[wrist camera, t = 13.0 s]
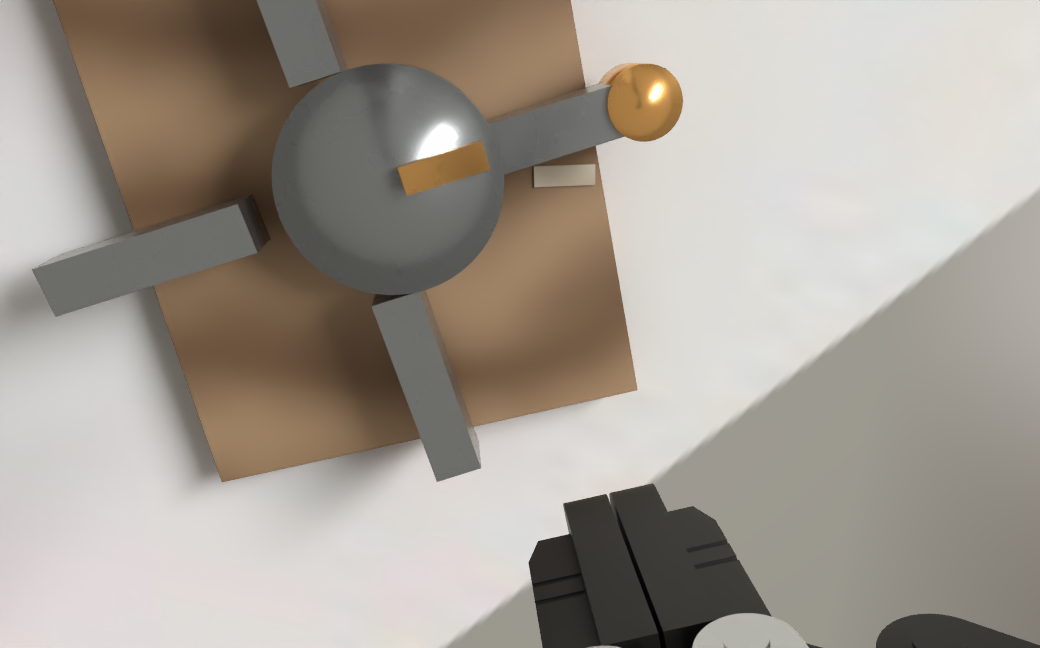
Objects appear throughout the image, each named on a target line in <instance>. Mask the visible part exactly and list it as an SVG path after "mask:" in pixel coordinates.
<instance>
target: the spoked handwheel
mask: <svg viewBox="0 0 1040 648" xmlns="http://www.w3.org/2000/svg"><path fill="white" fill-rule="evenodd" d="M257 3H258V5H259V8H260V11H261V13H262V16H263V19H264V21H265V24H266V27H267V29H268V32H269V35H270V37H271V40H272V43H273V45H274V48H275V51H276V53H277V56H278V59H279V61H280V64H281V67H282V69H283V72H284V75H285V77H286V80H287V83H288V85H289V88H293V87H297V86H302V85H305V84H308V83H311V82H314V81H318V80H321V79H324V78H327V77H330V76H332V77H330V78H328V79H326V80H325V81H323V82H321V83H320V84H318V85H317V86H316V87H315V88H313V89H312V90H311V91H309V92H308V93H307V94H306V95H305V96H304V97H303V98H302V99H301V100H300V101H299V102H298V104H297V105H296V106H295V108H294V109H293V110H292V112H291V113H290V115H289V116H288V118H287V120H286V122H285V123H284V125H283V127H282V129H281V132H280V134H279V137H278V140H277V142H276V146H275V151H274V155H273V162H272V190H273V196H274V201H275V205H276V209H277V212H278V215H279V218H280V220H281V222H282V224H283V227H284V229H285V231H286V233H287V234H288V236H289V237H290V239H291V241H292V242H293V244H294V245H295V247H296V248H297V249H298V250H299V251H300V253H301V254H302V255H303V256H304V257H305V258H306V259H307V260H308V261H309V262H310V263H311V264H312V265H313V266H314V267H315V268H317V269H318V270H320V271H321V272H322V273H324V274H325V275H326V276H328V277H330V278H332V279H333V280H335V281H337V282H339V283H341V284H343V285H345V286H348V287H350V288H353V289H356V290H360V291H364V292H367V293H373V294H375V296H374V299H373V303H372V306H371V307H372V309H373V312H374V315H375V317H376V320H377V323H378V325H379V328H380V331H381V333H382V336H383V339H384V341H385V344H386V347H387V349H388V352H389V355H390V357H391V360H392V363H393V365H394V368H395V371H396V373H397V376H398V379H399V381H400V384H401V387H402V389H403V392H404V395H405V397H406V400H407V403H408V405H409V408H410V411H411V413H412V416H413V419H414V421H415V424H416V427H417V429H418V432H419V435H420V437H421V440H422V443H423V445H424V448H425V451H426V453H427V456H428V459H429V461H430V464H431V467H432V469H433V472H434V475H435V477H436V480H437V482H438V481H441V480H445V479H448V478H451V477H454V476H457V475H461V474H464V473H467V472H470V471H473V470H476V469H480V468H481V461H480V450H479V441H478V438H477V435H476V432H475V430H474V427H473V424H472V421H471V418H470V415H469V413H468V410H467V407H466V404H465V401H464V398H463V395H462V393H461V390H460V387H459V384H458V381H457V378H456V375H455V373H454V370H453V367H452V364H451V361H450V358H449V356H448V353H447V350H446V347H445V344H444V341H443V338H442V336H441V333H440V330H439V327H438V324H437V321H436V319H435V316H434V313H433V310H432V307H431V304H430V301H429V299H428V296H427V293H426V290H427V289H430V288H433V287H435V286H438V285H440V284H442V283H444V282H446V281H448V280H449V279H451V278H453V277H454V276H456V275H457V274H458V273H460V272H461V271H463V270H464V269H465V268H466V267H467V266H468V265H469V264H470V263H471V262H472V261H474V260H475V258H476V257H477V256H478V255H479V253H480V252H481V251H482V250H483V249H484V247H485V245H486V244H487V242H488V241H489V239H490V237H491V236H492V233H493V231H494V229H495V227H496V224H497V222H498V218H499V215H500V212H501V208H502V202H503V196H504V174H508V173H511V172H514V171H517V170H520V169H523V168H527V167H530V166H533V165H536V164H539V163H542V162H546V161H549V160H552V159H555V158H558V157H561V156H564V155H568V154H571V153H574V152H577V151H580V150H583V149H587V148H590V147H593V146H596V145H599V144H602V143H606V142H609V141H612V140H615V139H618V138H621V137H624V136H625V137H627V138H630V139H632V140H635V141H652V140H656V139H658V138H660V137H662V136H664V135H665V134H667V133H668V132H669V131H670V130H671V129H672V128H673V127H674V126H675V124H676V122H677V121H678V119H679V117H680V114H681V110H682V104H683V97H682V91H681V88H680V85H679V83H678V81H677V80H676V78H675V77H674V76H673V75H672V74H671V73H670V72H669V71H668V70H666V68H663V67H661V66H658V65H654V64H636V63H627V64H622V65H619V66H616V67H614V68H612V69H611V70H610V71H608V72H607V73H606V74H605V75H604V76H603V78H602V79H601V81H600V82H599V84H596V85H593V86H590V87H587V88H584V89H580V90H577V91H574V92H571V93H568V94H565V95H561V96H558V97H555V98H552V99H549V100H546V101H543V102H539V103H536V104H533V105H530V106H527V107H524V108H520V109H517V110H514V111H511V112H508V113H505V114H502V115H498V116H495V117H492V118H489V119H486V120H485V118H484V117H483V115H482V114H481V112H480V111H479V110H478V108H477V107H476V105H475V104H474V103H473V102H472V101H471V100H470V99H469V98H468V96H467V95H466V94H465V93H464V92H462V91H461V90H460V89H459V88H458V87H456V86H455V85H454V84H453V83H451V82H449V81H448V80H446V79H445V78H443V77H442V76H439V75H437V74H435V73H433V72H431V71H429V70H426V69H422V68H419V67H416V66H411V65H405V64H397V63H382V64H372V65H364V66H360V67H356V68H352V69H348V68H347V65H346V62H345V59H344V57H343V54H342V51H341V48H340V45H339V42H338V40H337V37H336V34H335V31H334V28H333V25H332V22H331V20H330V17H329V14H328V11H327V8H326V5H325V2H324V0H257ZM270 239H271V238H270V236H269V233H268V231H267V228H266V226H265V224H264V221H263V219H262V216H261V214H260V211H259V209H258V206H257V204H256V201H255V199H254V196H253V194H249V195H246V196H243V197H240V198H237V199H234V200H231V201H227V202H224V203H221V204H218V205H215V206H212V207H209V208H205V209H202V210H199V211H196V212H193V213H190V214H186V215H183V216H180V217H177V218H174V219H171V220H168V221H164V222H161V223H158V224H155V225H152V226H149V227H145V228H142V229H139V230H136V231H133V232H130V233H127V234H123V235H120V236H117V237H114V238H111V239H108V240H105V241H101V242H98V243H95V244H92V245H89V246H86V247H82V248H79V249H76V250H73V251H70V252H67V253H64V254H61V255H59V256H57V257H55V258H53V259H51V260H49V261H47V262H45V263H43V264H41V265H39V266H38V267H36V268H34V269H32V271H33V273H34V275H35V277H36V279H37V281H38V283H39V285H40V287H41V289H42V291H43V293H44V295H45V297H46V299H47V301H48V303H49V305H50V306H51V308H52V310H53V312H54V314H55V316H59V315H62V314H65V313H69V312H72V311H75V310H78V309H81V308H84V307H88V306H91V305H94V304H97V303H100V302H103V301H107V300H110V299H113V298H116V297H119V296H122V295H125V294H129V293H132V292H135V291H138V290H141V289H144V288H148V287H151V286H154V285H157V284H160V283H163V282H167V281H170V280H173V279H176V278H179V277H182V276H185V275H189V274H192V273H195V272H198V271H201V270H204V269H208V268H211V267H214V266H217V265H220V264H223V263H227V262H230V261H233V260H236V259H239V258H242V257H245V256H249V255H252V254H255V253H258V252H259V251H260V250H261V249H262V247H263V246H264V245H265V244H266V243H267V242H268V241H269V240H270Z"/></svg>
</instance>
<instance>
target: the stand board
mask: <svg viewBox="0 0 1040 648" xmlns="http://www.w3.org/2000/svg"><path fill="white" fill-rule="evenodd" d="M53 1H54V4H55V7H56V10H57V13H58V16H59V18H60V21H61V24H62V27H63V30H64V33H65V35H66V38H67V41H68V44H69V47H70V50H71V53H72V55H73V58H74V61H75V64H76V67H77V70H78V73H79V75H80V78H81V81H82V84H83V87H84V90H85V93H86V95H87V98H88V101H89V104H90V107H91V110H92V113H93V115H94V118H95V121H96V124H97V127H98V130H99V132H100V135H101V138H102V141H103V144H104V147H105V150H106V152H107V155H108V158H109V161H110V164H111V167H112V170H113V172H114V175H115V178H116V181H117V184H118V187H119V190H120V192H121V195H122V198H123V201H124V204H125V207H126V210H127V212H128V215H129V218H130V221H131V224H132V227H133V229H134V231H136V230H139V229H142V228H145V227H149V226H152V225H155V224H158V223H161V222H164V221H168V220H171V219H174V218H177V217H180V216H183V215H186V214H190V213H193V212H196V211H199V210H202V209H205V208H209V207H212V206H215V205H218V204H221V203H224V202H227V201H231V200H234V199H237V198H240V197H243V196H246V195H249V194H253V196H254V199H255V201H256V204H257V206H258V209H259V211H260V214H261V216H262V219H263V221H264V224H265V226H266V228H267V231H268V233H269V236H270V238H271V239H270V240H269V241H268V242H267V243H266V244H265V245H264V246H263V247H262V249H261V250H260V251H259V252H258V253H255V254H252V255H249V256H245V257H242V258H239V259H236V260H233V261H230V262H227V263H223V264H220V265H217V266H214V267H211V268H208V269H204V270H201V271H198V272H195V273H192V274H189V275H185V276H182V277H179V278H176V279H173V280H170V281H167V282H163V283H160V284H157V285H154V286H153V287H154V289H155V292H156V295H157V298H158V301H159V304H160V307H161V309H162V312H163V315H164V318H165V321H166V324H167V326H168V329H169V332H170V335H171V338H172V341H173V344H174V346H175V349H176V352H177V355H178V358H179V361H180V364H181V366H182V369H183V372H184V375H185V378H186V381H187V384H188V386H189V389H190V392H191V395H192V398H193V401H194V404H195V406H196V409H197V412H198V415H199V418H200V421H201V424H202V426H203V429H204V432H205V435H206V438H207V441H208V443H209V446H210V449H211V452H212V455H213V458H214V461H215V463H216V466H217V469H218V472H219V475H220V478H221V481H222V482H226V481H230V480H235V479H239V478H244V477H248V476H253V475H257V474H262V473H266V472H271V471H275V470H280V469H284V468H289V467H293V466H298V465H302V464H307V463H311V462H316V461H320V460H325V459H329V458H334V457H338V456H343V455H347V454H352V453H356V452H361V451H365V450H370V449H374V448H379V447H384V446H388V445H393V444H397V443H402V442H406V441H411V440H415V439H420V438H421V437H420V435H419V432H418V429H417V427H416V424H415V421H414V419H413V416H412V413H411V411H410V408H409V405H408V403H407V400H406V397H405V395H404V392H403V389H402V387H401V384H400V381H399V379H398V376H397V373H396V371H395V368H394V365H393V363H392V360H391V357H390V355H389V352H388V349H387V347H386V344H385V341H384V339H383V336H382V333H381V331H380V328H379V325H378V323H377V320H376V317H375V315H374V312H373V309H372V307H371V306H372V303H373V299H374V296H375V294H373V293H367V292H364V291H360V290H356V289H353V288H350V287H348V286H345V285H343V284H341V283H339V282H337V281H335V280H333V279H332V278H330V277H328V276H326V275H325V274H324V273H322V272H321V271H320V270H318V269H317V268H315V267H314V266H313V265H312V264H311V263H310V262H309V261H308V260H307V259H306V258H305V257H304V256H303V255H302V254H301V253H300V251H299V250H298V249H297V248H296V247H295V245H294V244H293V242H292V241H291V239H290V237H289V236H288V234H287V233H286V231H285V229H284V227H283V224H282V222H281V220H280V218H279V215H278V212H277V209H276V205H275V201H274V196H273V190H272V162H273V155H274V151H275V146H276V142H277V140H278V137H279V134H280V132H281V129H282V127H283V125H284V123H285V122H286V120H287V118H288V116H289V115H290V113H291V112H292V110H293V109H294V108H295V106H296V105H297V104H298V102H299V101H300V100H301V99H302V98H303V97H304V96H305V95H306V94H307V93H308V92H309V91H311V90H312V89H313V88H315V87H316V86H317V85H318V84H320V83H321V82H323V81H325V80H326V79H328V78H330V77H332V76H330V77H327V78H324V79H321V80H318V81H314V82H311V83H308V84H305V85H302V86H297V87H293V88H289V85H288V83H287V80H286V77H285V75H284V72H283V69H282V67H281V64H280V61H279V59H278V56H277V53H276V51H275V48H274V45H273V43H272V40H271V37H270V35H269V32H268V29H267V27H266V24H265V21H264V19H263V16H262V13H261V11H260V8H259V5H258V3H257V0H53ZM324 2H325V5H326V8H327V11H328V14H329V17H330V20H331V22H332V25H333V28H334V31H335V34H336V37H337V40H338V42H339V45H340V48H341V51H342V54H343V57H344V59H345V62H346V65H347V68H348V69H352V68H356V67H360V66H364V65H372V64H382V63H397V64H405V65H411V66H416V67H419V68H422V69H426V70H429V71H431V72H433V73H435V74H437V75H439V76H442V77H443V78H445V79H446V80H448V81H449V82H451V83H453V84H454V85H455V86H456V87H458V88H459V89H460V90H461V91H462V92H464V93H465V94H466V95H467V96H468V98H469V99H470V100H471V101H472V102H473V103H474V104H475V105H476V107H477V108H478V110H479V111H480V112H481V114H482V115H483V117H484V118H485V120H486V119H489V118H492V117H495V116H498V115H502V114H505V113H508V112H511V111H514V110H517V109H520V108H524V107H527V106H530V105H533V104H536V103H539V102H543V101H546V100H549V99H552V98H555V97H558V96H561V95H565V94H568V93H571V92H574V91H577V90H580V89H584V88H585V82H584V76H583V70H582V64H581V58H580V53H579V47H578V41H577V35H576V29H575V23H574V18H573V12H572V6H571V0H324ZM426 293H427V296H428V299H429V301H430V304H431V307H432V310H433V313H434V316H435V319H436V321H437V324H438V327H439V330H440V333H441V336H442V338H443V341H444V344H445V347H446V350H447V353H448V356H449V358H450V361H451V364H452V367H453V370H454V373H455V375H456V378H457V381H458V384H459V387H460V390H461V393H462V395H463V398H464V401H465V404H466V407H467V410H468V413H469V415H470V418H471V421H472V424H473V427H474V426H478V425H483V424H487V423H492V422H496V421H501V420H505V419H510V418H514V417H519V416H523V415H528V414H532V413H537V412H541V411H546V410H550V409H555V408H559V407H564V406H568V405H573V404H577V403H582V402H586V401H591V400H595V399H600V398H604V397H609V396H613V395H618V394H622V393H627V392H631V391H636V390H637V384H636V378H635V373H634V367H633V361H632V355H631V349H630V344H629V338H628V332H627V326H626V320H625V314H624V309H623V303H622V297H621V291H620V285H619V280H618V274H617V268H616V262H615V256H614V250H613V245H612V239H611V233H610V227H609V221H608V216H607V210H606V204H605V198H604V192H603V186H602V181H601V175H600V169H599V163H598V157H597V152H596V146H593V147H590V148H587V149H583V150H580V151H577V152H574V153H571V154H568V155H564V156H561V157H558V158H555V159H552V160H549V161H546V162H542V163H539V164H536V165H533V166H530V167H527V168H523V169H520V170H517V171H514V172H511V173H508V174H504V196H503V202H502V208H501V212H500V215H499V218H498V222H497V224H496V227H495V229H494V231H493V233H492V236H491V237H490V239H489V241H488V242H487V244H486V245H485V247H484V249H483V250H482V251H481V252H480V253H479V255H478V256H477V257H476V258H475V260H474V261H472V262H471V263H470V264H469V265H468V266H467V267H466V268H465V269H464V270H463V271H461V272H460V273H458V274H457V275H456V276H454V277H453V278H451V279H449V280H448V281H446V282H444V283H442V284H440V285H438V286H435V287H433V288H430V289H427V290H426Z"/></svg>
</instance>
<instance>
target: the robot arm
mask: <svg viewBox="0 0 1040 648" xmlns="http://www.w3.org/2000/svg"><path fill="white" fill-rule="evenodd" d="M610 504H611V505H610ZM563 506H564V511H565V516H566V521H567V526H568V530H569V534H568V535H564V536H559V537H555V538H550V539H546V540H541V541H538V543H537V545H536V547H535V550H534V552H533V554H532V556H531V558H530V561H529V568H530V574H531V580H532V585H533V592H534V597H535V603H536V610H537V616H538V622H539V628H540V634H541V640H542V645H543V648H821V647H817V646H813V645H810V644H807V643H805V642H804V640H803V639H802V638H801V636H800V635H799V634H798V633H797V632H796V630H795V629H794V628H792V627H791V626H790V625H788V624H787V623H785V622H783V621H781V620H779V619H777V618H774V617H772V616H771V614H770V613H769V611H768V609H767V608H766V606H765V604H764V602H763V601H762V599H761V597H760V596H759V594H758V592H757V591H756V589H755V587H754V586H753V584H752V582H751V580H750V579H749V577H748V575H747V574H746V572H745V571H744V568H743V567H742V565H741V563H740V561H739V560H737V558H736V555H735V553H734V551H733V550H732V548H731V546H730V544H728V543H727V539H726V538H725V536H724V534H723V532H722V531H721V529H720V527H719V526H718V524H717V522H716V520H714V519H713V518H711V517H709V516H708V515H706V514H704V513H703V512H701V511H700V510H698V509H696V508H695V507H693V506H692V507H687V508H683V509H679V510H674V511H670V512H667V510H666V508H665V506H664V504H663V502H662V500H661V498H660V495H659V494H658V492H657V489H656V487H655V486H654V484H648V485H644V486H639V487H635V488H630V489H626V490H621V491H617V492H613V493H610V502H609V499H608V497H607V495H606V494H604V495H600V496H595V497H591V498H586V499H582V500H578V501H573V502H569V503H564V504H563ZM876 648H1040V645H1037V644H1034V643H1031V642H1028V641H1025V640H1022V639H1019V638H1016V637H1013V636H1010V635H1007V634H1004V633H1001V632H998V631H995V630H993V629H989V628H987V627H984V626H981V625H978V624H975V623H972V622H969V621H966V620H963V619H959V618H956V617H952V616H946V615H939V614H918V615H911V616H907V617H904V618H901V619H898V620H896V621H894V622H892V623H891V624H889V625H888V626H886V628H885V629H883V630H882V631H881V633H880V635H879V637H878V639H877V642H876Z"/></svg>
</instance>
